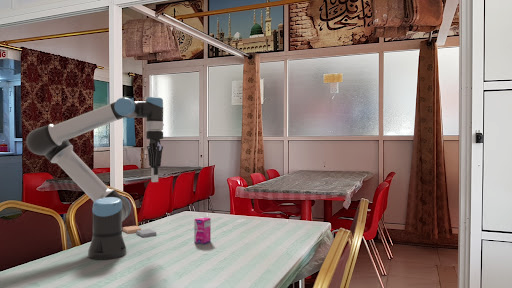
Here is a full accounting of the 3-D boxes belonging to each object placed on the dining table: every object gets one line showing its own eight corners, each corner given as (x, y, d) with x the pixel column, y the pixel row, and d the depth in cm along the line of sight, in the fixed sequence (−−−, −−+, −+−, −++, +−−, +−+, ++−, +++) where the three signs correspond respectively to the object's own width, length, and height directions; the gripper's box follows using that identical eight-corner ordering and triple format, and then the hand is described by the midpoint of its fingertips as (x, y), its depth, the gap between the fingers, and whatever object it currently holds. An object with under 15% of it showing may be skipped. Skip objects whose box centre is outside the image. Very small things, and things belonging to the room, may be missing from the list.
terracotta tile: (128, 230, 205) (122, 227, 213) (128, 234, 206) (122, 231, 213) (141, 228, 210) (135, 225, 217) (141, 232, 210) (135, 229, 217)
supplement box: (193, 243, 187) (193, 218, 187) (201, 240, 192) (201, 216, 192) (203, 244, 184) (203, 220, 184) (211, 241, 190) (211, 217, 189)
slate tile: (143, 234, 198) (136, 230, 205) (143, 238, 198) (136, 234, 205) (156, 232, 202) (149, 228, 209) (156, 236, 202) (149, 232, 209)
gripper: (168, 130, 179) (168, 182, 179) (156, 131, 190) (156, 180, 190) (152, 130, 175) (152, 183, 175) (141, 130, 185) (141, 181, 185)
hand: (154, 181), depth 182 cm, fingers closed
